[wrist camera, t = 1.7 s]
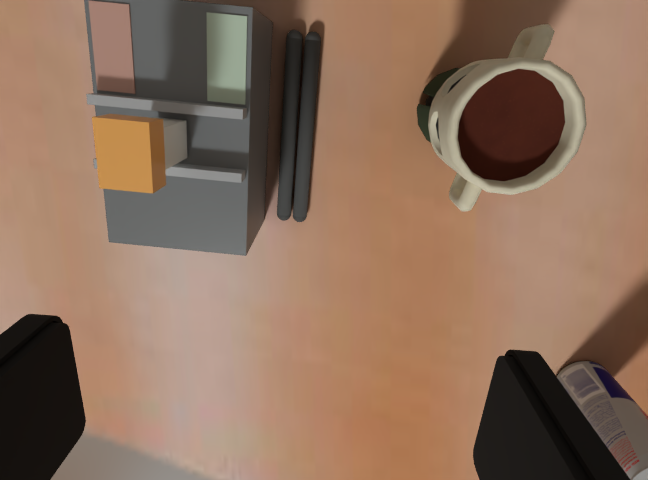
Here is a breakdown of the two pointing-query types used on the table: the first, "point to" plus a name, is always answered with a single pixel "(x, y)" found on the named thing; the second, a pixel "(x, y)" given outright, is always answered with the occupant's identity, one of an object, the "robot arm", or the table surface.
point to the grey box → (188, 116)
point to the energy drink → (610, 414)
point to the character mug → (504, 120)
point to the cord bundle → (304, 123)
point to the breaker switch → (137, 150)
